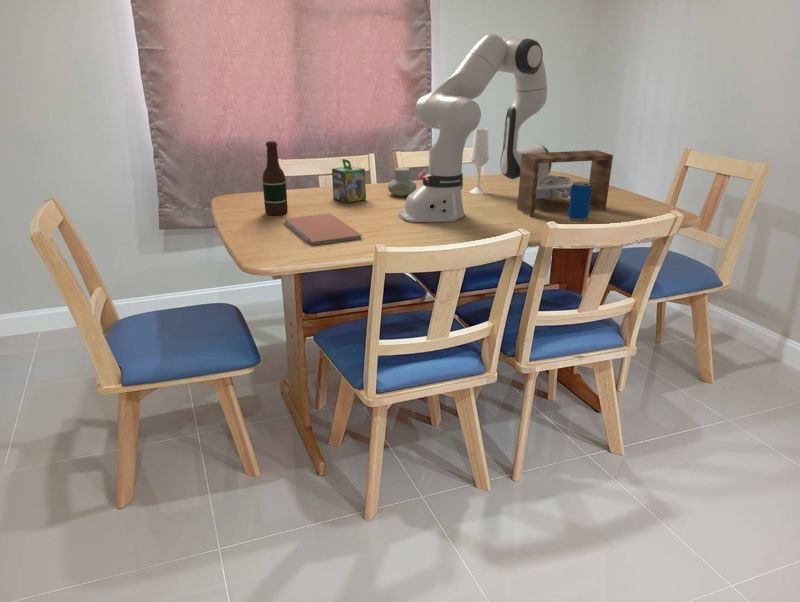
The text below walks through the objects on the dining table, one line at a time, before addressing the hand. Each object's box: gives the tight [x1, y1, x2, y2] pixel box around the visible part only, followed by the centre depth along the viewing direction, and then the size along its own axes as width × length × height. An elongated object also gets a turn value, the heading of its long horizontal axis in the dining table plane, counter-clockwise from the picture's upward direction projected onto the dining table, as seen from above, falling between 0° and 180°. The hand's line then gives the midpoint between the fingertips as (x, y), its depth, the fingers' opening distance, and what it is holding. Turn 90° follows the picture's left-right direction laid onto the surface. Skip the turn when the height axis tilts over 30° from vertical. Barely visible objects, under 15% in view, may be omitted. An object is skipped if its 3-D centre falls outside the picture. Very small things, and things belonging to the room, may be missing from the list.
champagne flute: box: [469, 127, 490, 195], centre depth 241 cm, size 7×7×24 cm
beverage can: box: [567, 180, 592, 222], centre depth 209 cm, size 6×6×12 cm
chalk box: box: [331, 158, 367, 204], centre depth 231 cm, size 9×9×15 cm
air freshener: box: [387, 166, 418, 198], centre depth 239 cm, size 11×8×10 cm
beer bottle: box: [262, 140, 289, 217], centre depth 210 cm, size 8×8×24 cm
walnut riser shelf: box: [516, 149, 614, 217], centre depth 217 cm, size 29×10×20 cm, turn 106°
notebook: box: [283, 213, 363, 246], centre depth 197 cm, size 27×17×2 cm, turn 26°
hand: (564, 195), depth 217 cm, fingers closed
